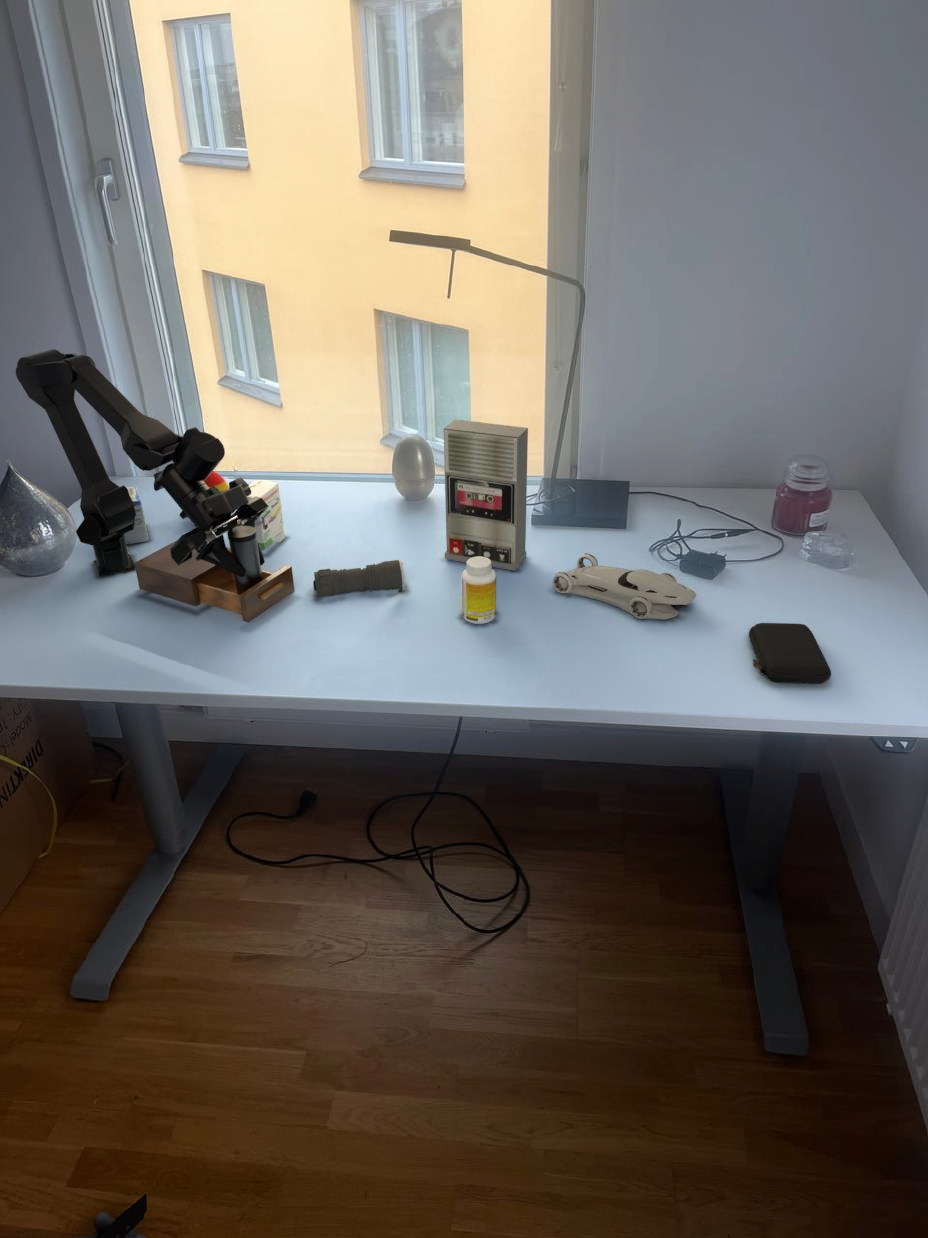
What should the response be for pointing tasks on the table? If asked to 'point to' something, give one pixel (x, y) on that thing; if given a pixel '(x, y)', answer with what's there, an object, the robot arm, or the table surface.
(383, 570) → the flashlight
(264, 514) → the ink box
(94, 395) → the robot arm
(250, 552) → the canister
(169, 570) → the drawer unit
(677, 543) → the table surface
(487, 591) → the supplement bottle
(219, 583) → the drawer
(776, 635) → the carrying case
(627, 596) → the car model
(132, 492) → the medicine box
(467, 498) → the cassette tape recorder
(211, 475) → the decorative egg
